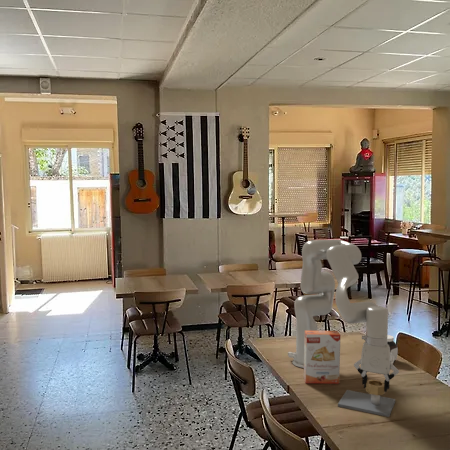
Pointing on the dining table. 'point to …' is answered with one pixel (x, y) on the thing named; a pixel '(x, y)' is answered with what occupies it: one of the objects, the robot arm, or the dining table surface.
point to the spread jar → (392, 348)
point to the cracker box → (322, 357)
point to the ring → (375, 387)
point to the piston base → (367, 403)
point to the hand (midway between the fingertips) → (375, 388)
